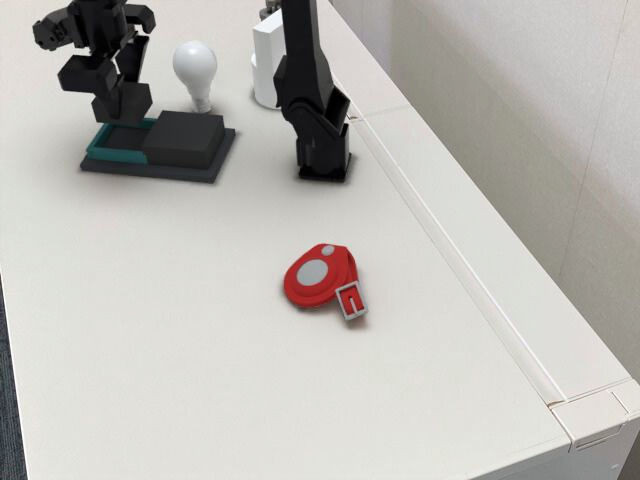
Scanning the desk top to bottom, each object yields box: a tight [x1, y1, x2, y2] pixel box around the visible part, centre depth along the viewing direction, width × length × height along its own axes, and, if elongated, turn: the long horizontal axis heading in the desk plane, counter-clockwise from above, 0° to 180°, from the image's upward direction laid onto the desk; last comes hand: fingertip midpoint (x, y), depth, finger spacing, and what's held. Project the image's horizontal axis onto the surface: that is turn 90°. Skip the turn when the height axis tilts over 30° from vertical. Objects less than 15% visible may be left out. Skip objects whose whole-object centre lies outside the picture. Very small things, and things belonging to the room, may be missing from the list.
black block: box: [90, 81, 154, 126], centre depth 105 cm, size 6×6×3 cm
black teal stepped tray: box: [79, 109, 237, 184], centre depth 109 cm, size 19×12×4 cm, turn 81°
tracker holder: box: [282, 243, 370, 321], centre depth 90 cm, size 12×4×10 cm
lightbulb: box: [171, 39, 218, 114], centre depth 113 cm, size 6×6×11 cm
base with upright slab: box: [250, 8, 286, 111], centre depth 116 cm, size 9×9×12 cm
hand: (124, 106), depth 105 cm, fingers closed on black block, 6 cm apart
